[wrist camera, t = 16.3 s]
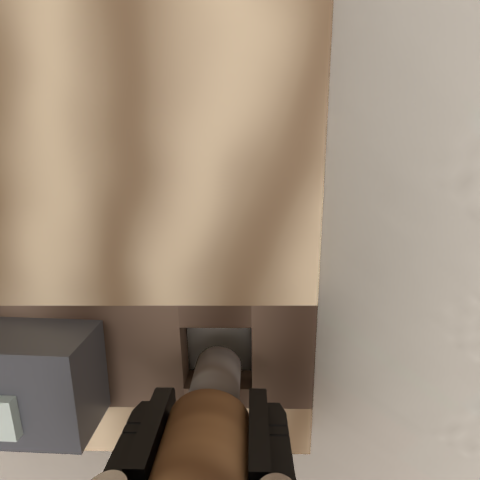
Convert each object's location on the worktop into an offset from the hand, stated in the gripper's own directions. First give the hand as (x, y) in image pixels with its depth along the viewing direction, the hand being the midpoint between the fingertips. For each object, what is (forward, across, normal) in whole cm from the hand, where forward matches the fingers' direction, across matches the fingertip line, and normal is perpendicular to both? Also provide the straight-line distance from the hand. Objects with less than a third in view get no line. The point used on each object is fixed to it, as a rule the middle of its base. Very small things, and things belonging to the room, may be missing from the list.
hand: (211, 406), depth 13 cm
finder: (+3, +10, 0) cm, 10 cm away
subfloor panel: (+5, +4, -7) cm, 9 cm away
